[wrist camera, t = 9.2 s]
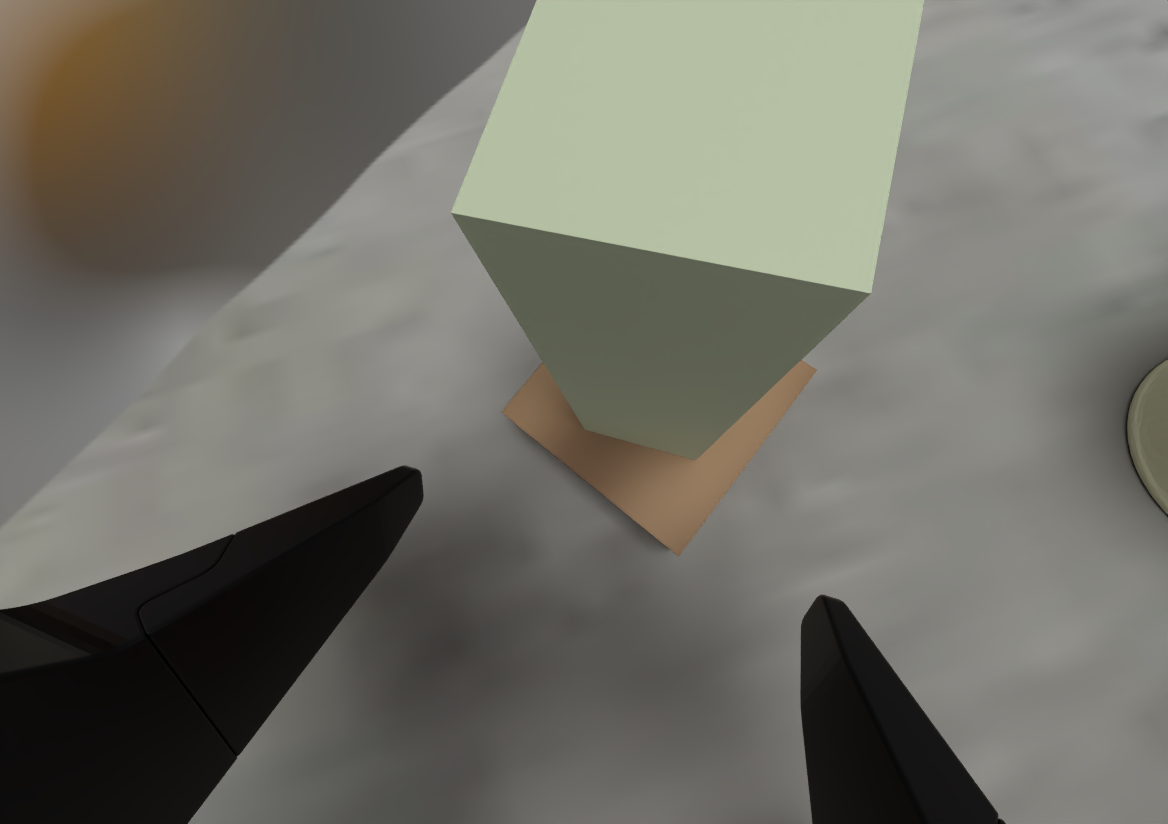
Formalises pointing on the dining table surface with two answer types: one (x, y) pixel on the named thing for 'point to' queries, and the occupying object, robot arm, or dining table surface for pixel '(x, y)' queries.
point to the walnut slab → (652, 456)
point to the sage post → (688, 196)
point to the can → (1151, 433)
